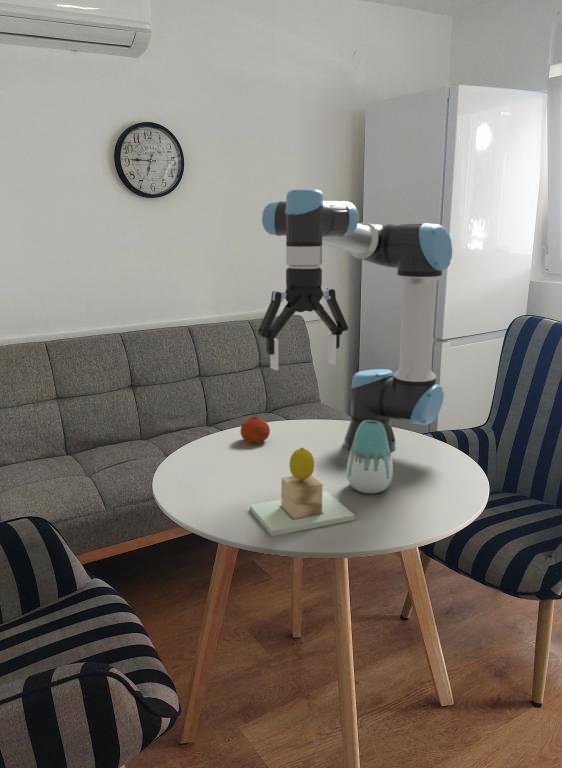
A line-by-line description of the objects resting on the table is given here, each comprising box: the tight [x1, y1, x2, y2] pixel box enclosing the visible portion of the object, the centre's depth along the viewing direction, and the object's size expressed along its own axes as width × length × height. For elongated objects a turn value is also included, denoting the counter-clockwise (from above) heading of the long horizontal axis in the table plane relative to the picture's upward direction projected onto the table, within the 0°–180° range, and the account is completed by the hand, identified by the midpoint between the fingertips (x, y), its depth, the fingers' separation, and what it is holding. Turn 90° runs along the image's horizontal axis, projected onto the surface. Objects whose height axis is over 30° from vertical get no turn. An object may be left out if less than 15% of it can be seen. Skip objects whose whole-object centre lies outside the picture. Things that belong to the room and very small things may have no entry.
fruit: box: [240, 415, 271, 444], centre depth 196 cm, size 9×9×8 cm
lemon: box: [289, 447, 315, 481], centre depth 145 cm, size 6×6×8 cm
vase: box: [346, 420, 394, 494], centre depth 160 cm, size 12×12×18 cm
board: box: [249, 491, 355, 537], centre depth 148 cm, size 20×14×1 cm
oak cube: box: [280, 475, 323, 518], centre depth 147 cm, size 7×7×7 cm
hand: (303, 366), depth 140 cm, fingers open, 13 cm apart
